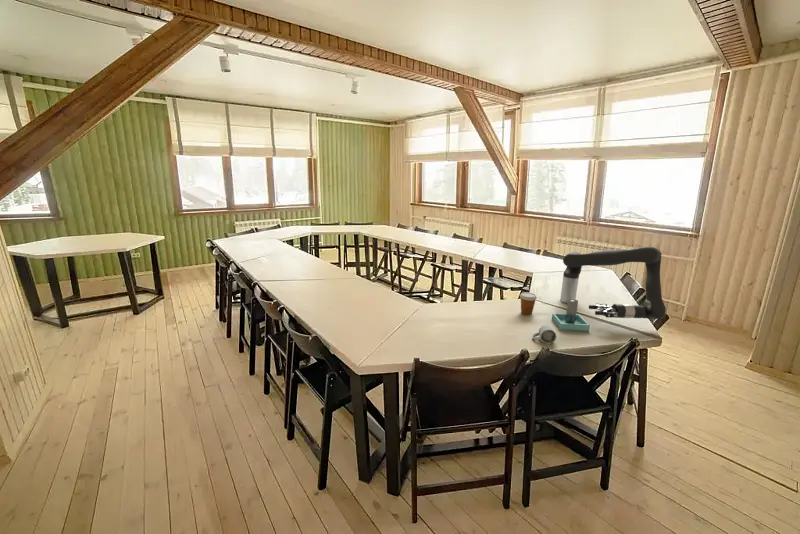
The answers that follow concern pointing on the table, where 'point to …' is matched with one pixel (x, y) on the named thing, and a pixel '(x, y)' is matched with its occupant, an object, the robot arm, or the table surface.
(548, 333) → the ceramic mug
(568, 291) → the robot arm
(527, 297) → the disposable coffee cup
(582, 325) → the teal box
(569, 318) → the charcoal metal canister
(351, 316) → the table surface
